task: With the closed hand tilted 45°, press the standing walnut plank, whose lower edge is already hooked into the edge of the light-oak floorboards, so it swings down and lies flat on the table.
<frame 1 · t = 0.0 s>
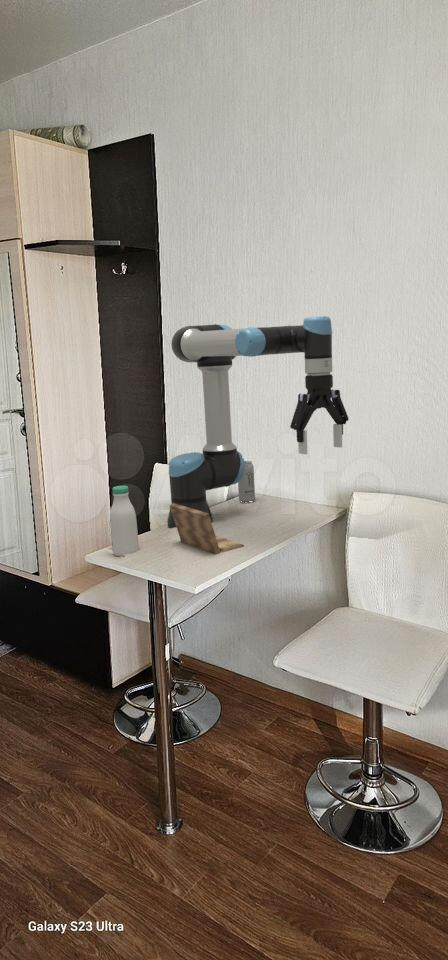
hand: (320, 450, 196), 28 cm above the counter, tool pointing down, fingers open, 13 cm apart
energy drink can: (247, 502, 261), on the counter
milk bottle: (126, 553, 206), on the counter
laid floorboards: (214, 546, 208), on the counter
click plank: (194, 529, 202), point 7 cm above the counter, hinge at 15.0°
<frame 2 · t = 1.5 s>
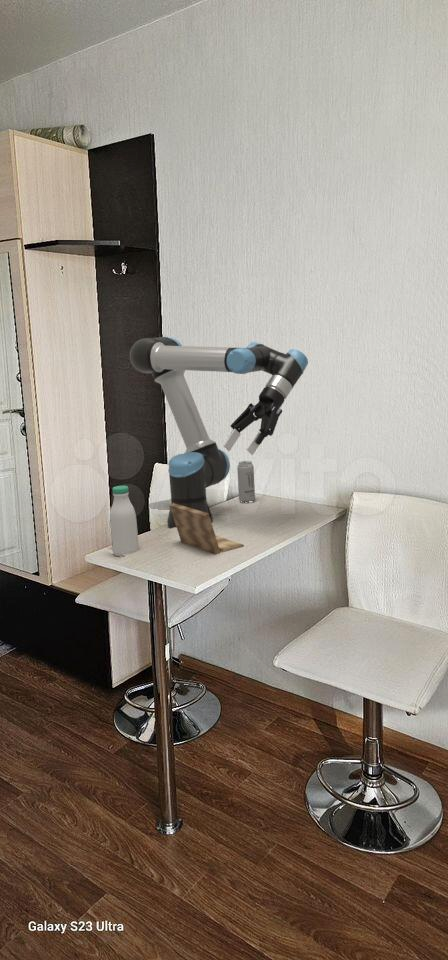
hand: (237, 450, 211), 27 cm above the counter, tool tilted 45°, fingers open, 11 cm apart
nothing on the counter moved.
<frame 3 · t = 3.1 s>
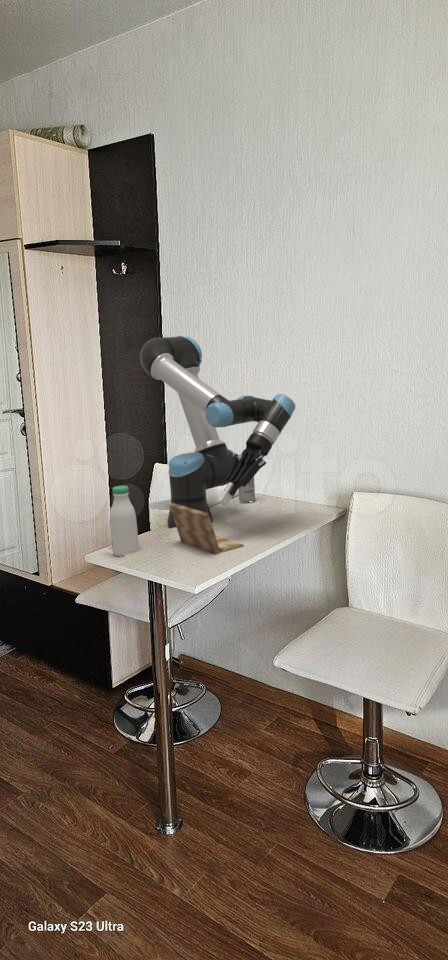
hand: (222, 503, 206), 13 cm above the counter, tool tilted 45°, fingers closed
nothing on the counter moved.
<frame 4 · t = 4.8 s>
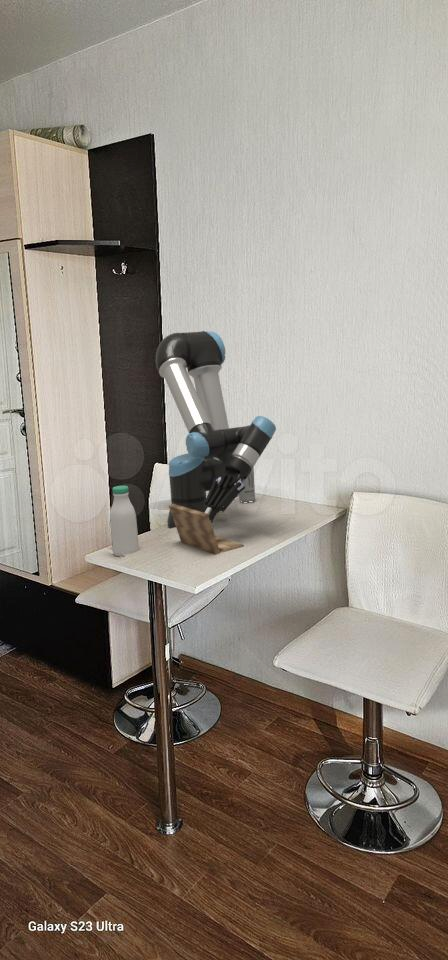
hand: (200, 528, 203), 7 cm above the counter, tool tilted 45°, fingers closed
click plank: (194, 529, 202), point 7 cm above the counter, hinge at 16.6°, touching gripper
everything else where it was.
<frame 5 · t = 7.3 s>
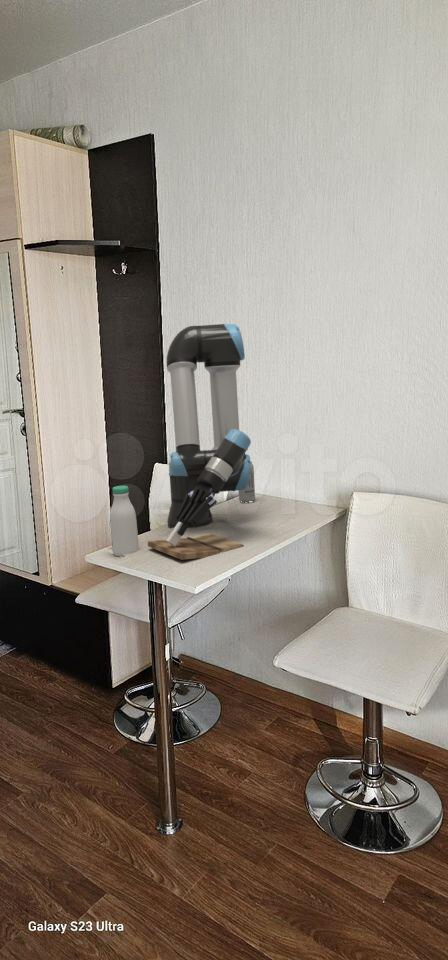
hand: (170, 543, 198), 4 cm above the counter, tool tilted 45°, fingers closed
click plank: (183, 548, 201), point 2 cm above the counter, hinge at 81.4°
everything else where it was.
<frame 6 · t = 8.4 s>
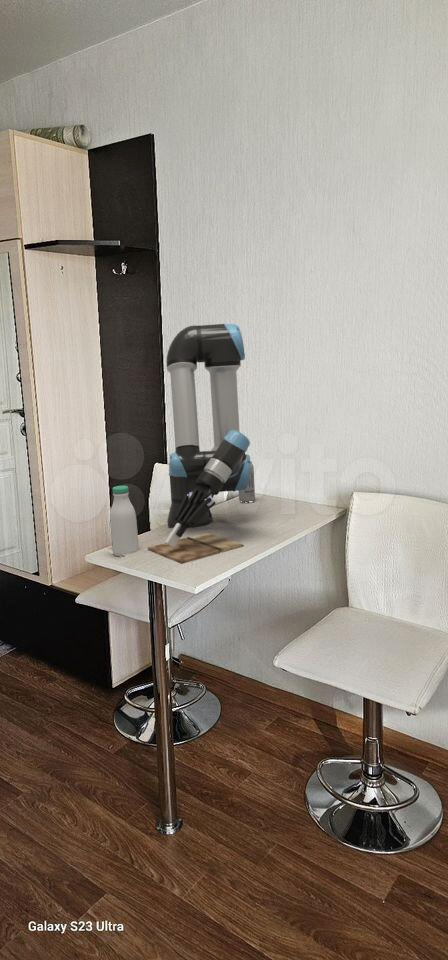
hand: (169, 544, 198), 4 cm above the counter, tool tilted 45°, fingers closed
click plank: (183, 551, 201), point 1 cm above the counter, hinge at 90.1°
everything else where it was.
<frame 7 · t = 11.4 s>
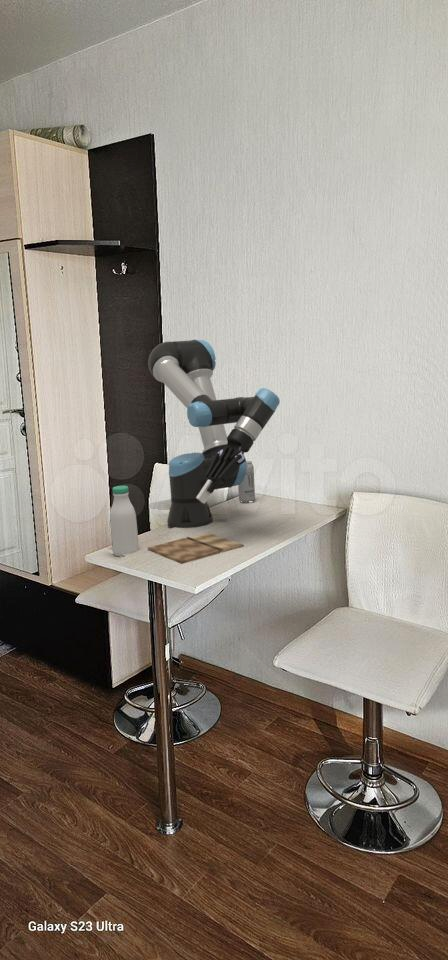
hand: (200, 500, 202), 15 cm above the counter, tool tilted 45°, fingers closed
nothing on the counter moved.
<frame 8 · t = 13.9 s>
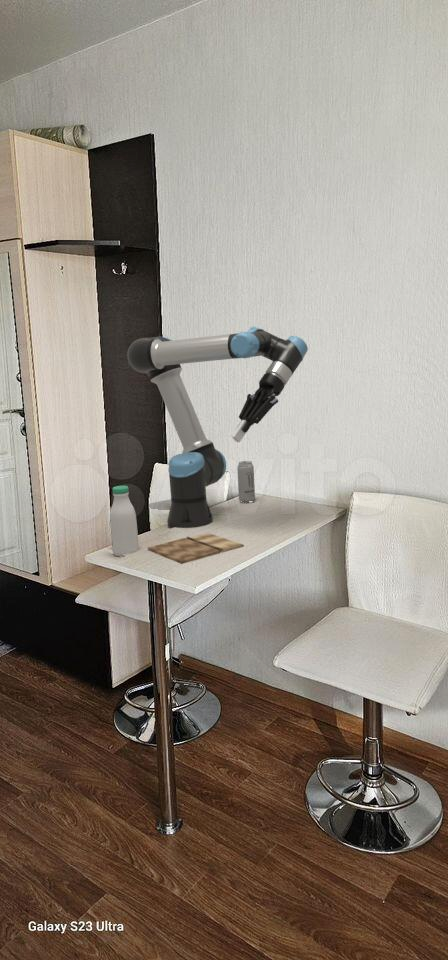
hand: (235, 439, 212), 30 cm above the counter, tool tilted 45°, fingers closed
nothing on the counter moved.
at the end: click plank at +90° (first picture: +15°); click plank tilted 90° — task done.
